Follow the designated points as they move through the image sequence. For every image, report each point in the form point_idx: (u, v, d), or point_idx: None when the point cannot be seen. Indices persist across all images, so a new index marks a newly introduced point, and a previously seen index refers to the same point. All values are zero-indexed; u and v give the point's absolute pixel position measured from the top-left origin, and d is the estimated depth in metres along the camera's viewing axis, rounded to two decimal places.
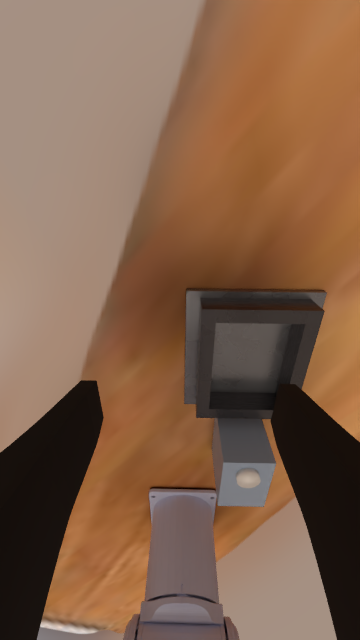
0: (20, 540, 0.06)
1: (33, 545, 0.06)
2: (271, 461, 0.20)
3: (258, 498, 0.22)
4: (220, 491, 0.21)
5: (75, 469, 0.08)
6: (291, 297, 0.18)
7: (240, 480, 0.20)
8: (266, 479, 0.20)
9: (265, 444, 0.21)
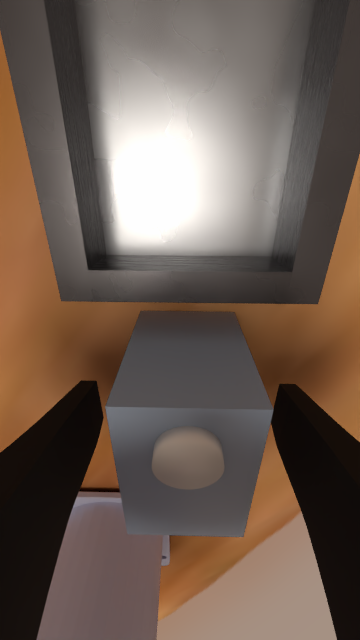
0: (20, 540, 0.06)
1: (33, 545, 0.06)
2: (258, 404, 0.06)
3: (228, 517, 0.08)
4: (123, 498, 0.08)
5: (75, 469, 0.08)
6: None
7: (162, 465, 0.06)
8: (245, 463, 0.07)
9: (245, 366, 0.07)
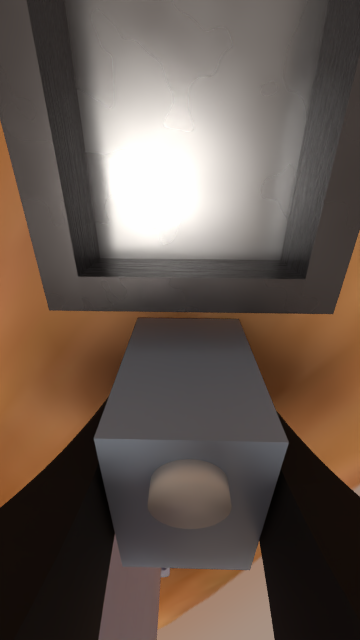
0: (89, 542, 0.06)
1: (96, 547, 0.06)
2: (271, 435, 0.05)
3: (233, 550, 0.07)
4: (117, 532, 0.07)
5: None
6: None
7: (160, 504, 0.05)
8: (254, 498, 0.06)
9: (253, 386, 0.07)
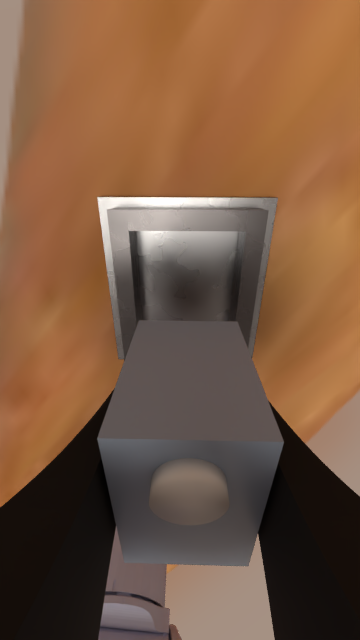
0: (89, 542, 0.06)
1: (96, 547, 0.06)
2: (267, 435, 0.06)
3: (232, 547, 0.08)
4: (119, 528, 0.07)
5: None
6: (233, 205, 0.14)
7: (160, 501, 0.06)
8: (252, 496, 0.06)
9: (250, 387, 0.07)
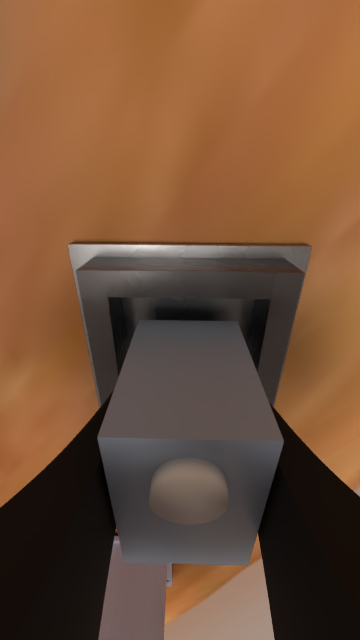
0: (89, 542, 0.06)
1: (96, 547, 0.06)
2: (267, 434, 0.06)
3: (231, 546, 0.08)
4: (119, 528, 0.07)
5: None
6: (250, 255, 0.11)
7: (160, 500, 0.06)
8: (251, 495, 0.06)
9: (251, 387, 0.07)
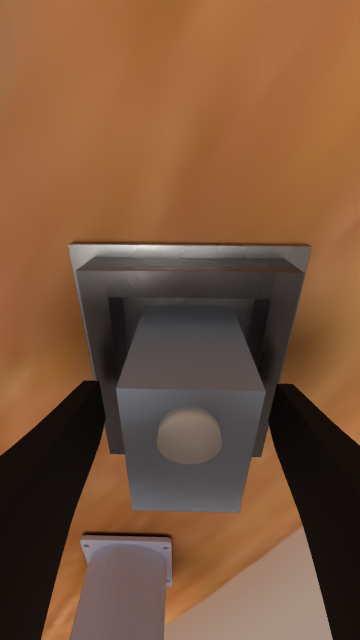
0: (25, 540, 0.06)
1: (37, 545, 0.06)
2: (252, 387, 0.07)
3: (225, 493, 0.09)
4: (130, 475, 0.09)
5: (78, 469, 0.08)
6: (250, 256, 0.11)
7: (166, 441, 0.07)
8: (241, 442, 0.08)
9: (241, 355, 0.08)
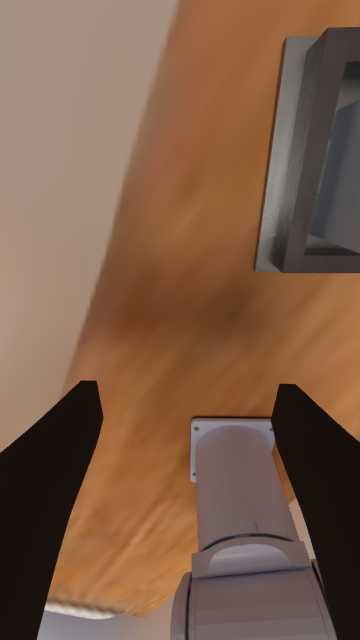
0: (20, 540, 0.06)
1: (33, 545, 0.06)
2: None
3: None
4: None
5: (75, 469, 0.08)
6: None
7: None
8: None
9: None
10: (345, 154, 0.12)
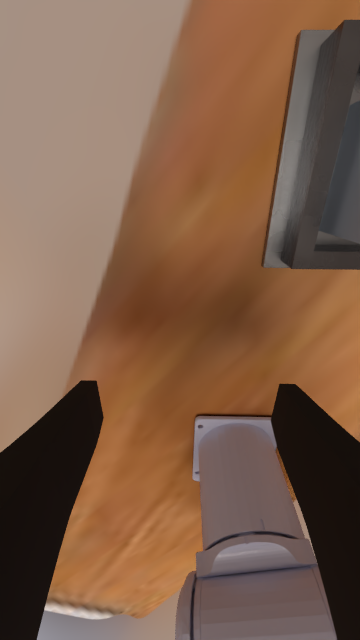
0: (20, 540, 0.06)
1: (33, 545, 0.06)
2: None
3: None
4: None
5: (75, 469, 0.08)
6: None
7: None
8: None
9: None
10: (358, 149, 0.12)
